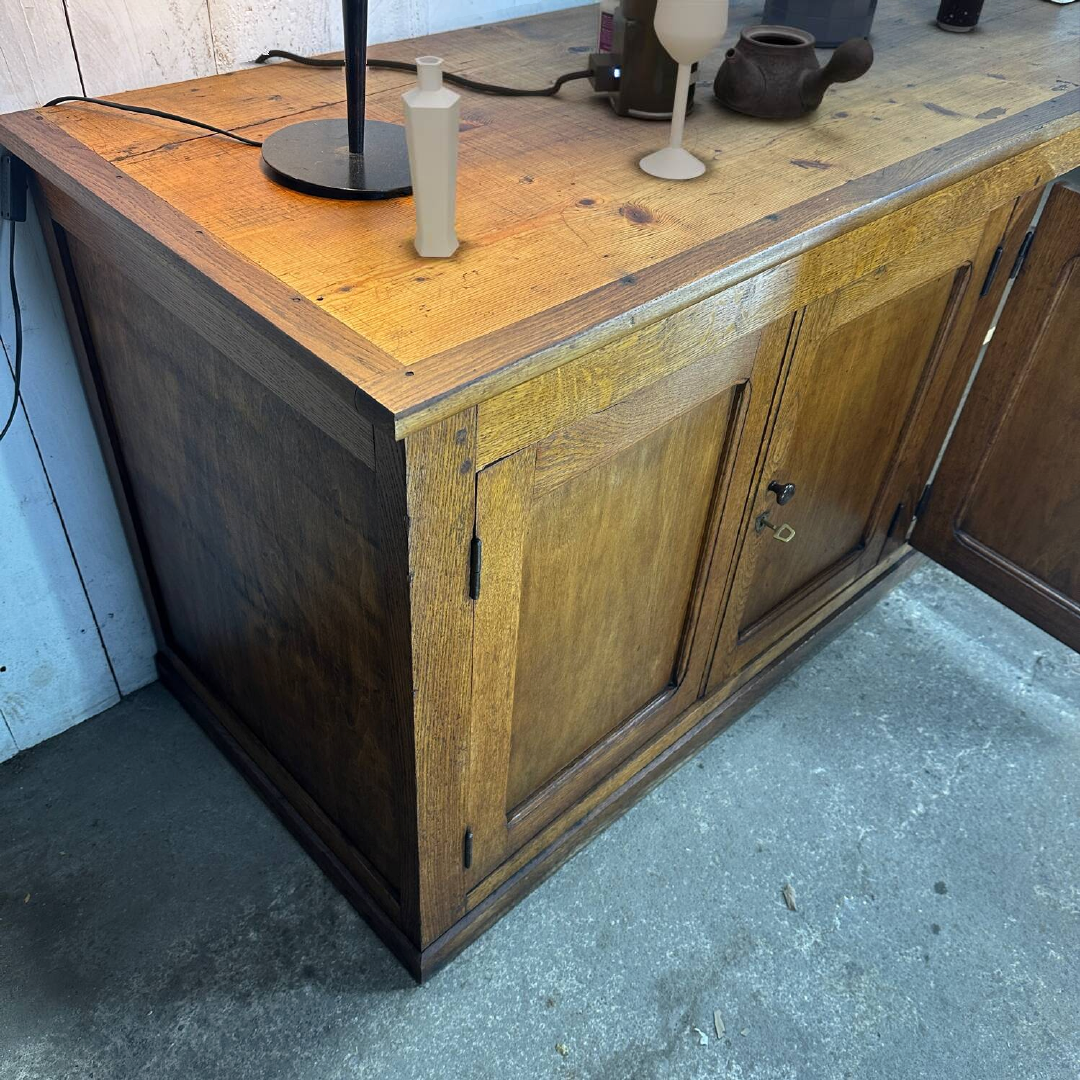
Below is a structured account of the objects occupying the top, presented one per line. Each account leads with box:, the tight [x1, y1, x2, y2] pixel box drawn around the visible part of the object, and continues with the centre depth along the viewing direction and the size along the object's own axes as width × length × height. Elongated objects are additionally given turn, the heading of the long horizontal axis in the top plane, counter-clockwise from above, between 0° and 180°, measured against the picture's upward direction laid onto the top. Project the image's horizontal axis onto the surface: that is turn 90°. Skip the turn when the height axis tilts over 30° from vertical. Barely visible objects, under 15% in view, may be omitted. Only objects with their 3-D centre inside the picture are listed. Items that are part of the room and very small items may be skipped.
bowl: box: [760, 0, 879, 48], centre depth 134 cm, size 15×15×6 cm
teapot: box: [713, 24, 875, 119], centre depth 108 cm, size 19×15×10 cm
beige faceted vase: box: [400, 55, 462, 258], centre depth 79 cm, size 5×4×15 cm
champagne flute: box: [638, 0, 730, 180], centre depth 91 cm, size 7×7×24 cm
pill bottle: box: [595, 0, 620, 53], centre depth 119 cm, size 5×5×10 cm
